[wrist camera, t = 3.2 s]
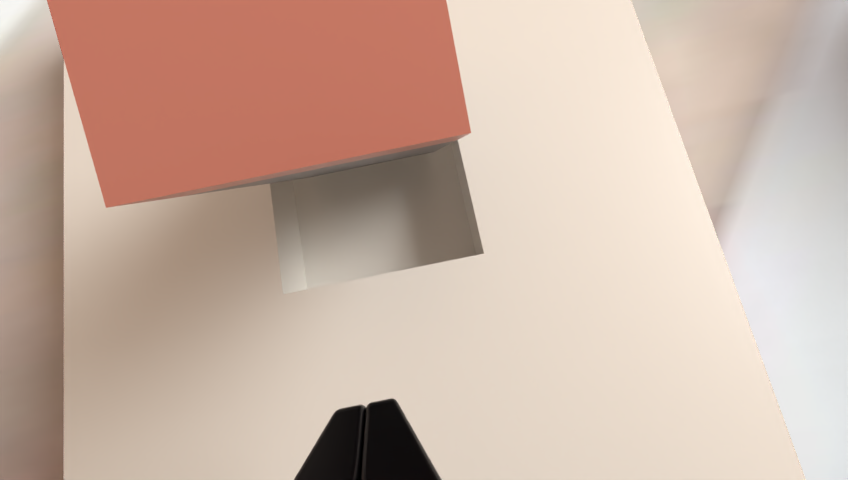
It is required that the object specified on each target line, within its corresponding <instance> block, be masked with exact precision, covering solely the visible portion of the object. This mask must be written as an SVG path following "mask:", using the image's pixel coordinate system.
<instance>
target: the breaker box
mask: <svg viewBox="0 0 848 480" xmlns="http://www.w3.org/2000/svg"><path fill="white" fill-rule="evenodd" d="M446 1H447V7H448V12H449V17H450V23H451V28H452V33H453V39H454V44H455V49H456V55H457V60H458V65H459V71H460V76H461V81H462V87H463V92H464V97H465V103H466V108H467V113H468V119H469V124H470V129H471V133H470V134H468V135H466V136H464V137H462V138H460V139H458V140H456V141H454V142H452V143H450V144H448V145H446V146H444V147H442V148H440V149H439V150H437V151H435V152H431V153H426V154H422V155H417V156H412V157H407V158H402V159H397V160H392V161H387V162H383V163H378V164H373V165H368V166H363V167H358V168H353V169H348V170H343V171H339V172H334V173H329V174H324V175H319V176H314V177H309V178H303V179H296V180H290V181H283V182H276V183H270V184H263V185H256V186H249V187H243V188H236V189H229V190H223V191H216V192H209V193H202V194H196V195H189V196H182V197H175V198H169V199H162V200H155V201H149V202H142V203H135V204H128V205H122V206H115V207H108V208H106V206H105V203H104V199H103V195H102V192H101V188H100V185H99V181H98V178H97V174H96V171H95V167H94V164H93V160H92V157H91V153H90V150H89V146H88V143H87V139H86V136H85V132H84V129H83V125H82V121H81V118H80V114H79V111H78V107H77V104H76V100H75V97H74V93H73V90H72V86H71V83H70V79H69V76H68V72H67V69H66V65H65V62H64V480H294V478H295V477H296V475H297V473H298V472H299V470H300V468H301V467H302V465H303V463H304V462H305V460H306V458H307V457H308V455H309V453H310V452H311V450H312V448H313V447H314V445H315V443H316V442H317V440H318V438H319V437H320V435H321V433H322V432H323V430H324V428H325V427H326V425H327V423H328V422H329V420H330V418H331V417H332V415H333V413H334V412H335V411H336V410H338V409H341V408H345V407H350V406H355V405H364V406H365V407H367V405H368V404H369V403H371V402H375V401H380V400H385V399H390V398H393V399H395V400H396V401H397V402H398V404H399V405H400V407H401V409H402V411H403V412H404V414H405V416H406V418H407V419H408V421H409V423H410V425H411V426H412V428H413V430H414V432H415V434H416V435H417V437H418V439H419V441H420V442H421V444H422V446H423V448H424V449H425V451H426V453H427V455H428V457H429V458H430V460H431V462H432V464H433V465H434V467H435V469H436V471H437V472H438V474H439V476H440V478H441V480H806V479H805V476H804V473H803V471H802V468H801V465H800V462H799V460H798V457H797V454H796V451H795V449H794V446H793V443H792V440H791V438H790V435H789V432H788V429H787V427H786V424H785V421H784V418H783V416H782V413H781V410H780V407H779V405H778V402H777V399H776V396H775V394H774V391H773V388H772V386H771V383H770V380H769V377H768V375H767V372H766V369H765V366H764V364H763V361H762V358H761V355H760V353H759V350H758V347H757V344H756V342H755V339H754V336H753V333H752V331H751V328H750V325H749V322H748V320H747V317H746V314H745V311H744V309H743V306H742V303H741V300H740V298H739V295H738V292H737V289H736V287H735V284H734V281H733V279H732V276H731V273H730V270H729V268H728V265H727V262H726V259H725V257H724V254H723V251H722V248H721V246H720V243H719V240H718V237H717V235H716V232H715V229H714V226H713V224H712V221H711V218H710V215H709V213H708V210H707V207H706V204H705V202H704V199H703V196H702V193H701V191H700V188H699V185H698V182H697V180H696V177H695V174H694V171H693V169H692V166H691V163H690V161H689V158H688V155H687V152H686V150H685V147H684V144H683V141H682V139H681V136H680V133H679V130H678V128H677V125H676V122H675V119H674V117H673V114H672V111H671V108H670V106H669V103H668V100H667V97H666V95H665V92H664V89H663V86H662V84H661V81H660V78H659V75H658V73H657V70H656V67H655V64H654V62H653V59H652V56H651V54H650V51H649V48H648V45H647V43H646V40H645V37H644V34H643V32H642V29H641V26H640V23H639V21H638V18H637V15H636V12H635V10H634V7H633V4H632V1H631V0H446Z"/></svg>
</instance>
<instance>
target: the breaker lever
mask: <svg viewBox="0 0 848 480" xmlns="http://www.w3.org/2000/svg"><path fill="white" fill-rule="evenodd" d="M47 2H48V5H49V9H50V12H51V16H52V19H53V23H54V26H55V30H56V33H57V37H58V40H59V44H60V48H61V51H62V55H63V58H64V62H65V65H66V69H67V72H68V76H69V79H70V83H71V86H72V90H73V93H74V97H75V100H76V104H77V107H78V111H79V114H80V118H81V121H82V125H83V129H84V132H85V136H86V139H87V143H88V146H89V150H90V153H91V157H92V160H93V164H94V167H95V171H96V174H97V178H98V181H99V185H100V188H101V192H102V195H103V199H104V203H105V206H106V208H108V207H115V206H122V205H128V204H135V203H142V202H149V201H155V200H162V199H169V198H175V197H182V196H189V195H196V194H202V193H209V192H216V191H223V190H229V189H236V188H243V187H249V186H256V185H263V184H270V183H276V182H283V181H290V180H296V179H303V178H309V177H314V176H319V175H324V174H329V173H334V172H339V171H343V170H348V169H353V168H358V167H363V166H368V165H373V164H378V163H383V162H387V161H392V160H397V159H402V158H407V157H412V156H417V155H422V154H426V153H431V152H435V151H437V150H439V149H440V148H442V147H444V146H446V145H448V144H450V143H452V142H454V141H456V140H458V139H460V138H462V137H464V136H466V135H468V134H470V133H471V129H470V124H469V119H468V113H467V108H466V103H465V97H464V92H463V87H462V81H461V76H460V71H459V65H458V60H457V55H456V49H455V44H454V39H453V33H452V28H451V23H450V17H449V12H448V7H447V1H446V0H47Z"/></svg>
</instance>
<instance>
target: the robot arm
mask: <svg viewBox="0 0 848 480" xmlns="http://www.w3.org/2000/svg"><path fill="white" fill-rule="evenodd" d="M294 480H441V478H440V476H439V474H438V472H437V471H436V469H435V467H434V465H433V464H432V462H431V460H430V458H429V457H428V455H427V453H426V451H425V449H424V448H423V446H422V444H421V442H420V441H419V439H418V437H417V435H416V434H415V432H414V430H413V428H412V426H411V425H410V423H409V421H408V419H407V418H406V416H405V414H404V412H403V411H402V409H401V407H400V405H399V404H398V402H397V401H396V400H395V399H393V398H390V399H385V400H380V401H375V402H371V403H369V404H368V405H367V407H365V406H364V405H355V406H350V407H345V408H341V409H338V410H336V411H335V412H334V413H333V415H332V417H331V418H330V420H329V422H328V423H327V425H326V427H325V428H324V430H323V432H322V433H321V435H320V437H319V438H318V440H317V442H316V443H315V445H314V447H313V448H312V450H311V452H310V453H309V455H308V457H307V458H306V460H305V462H304V463H303V465H302V467H301V468H300V470H299V472H298V473H297V475H296V477H295V478H294Z"/></svg>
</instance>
